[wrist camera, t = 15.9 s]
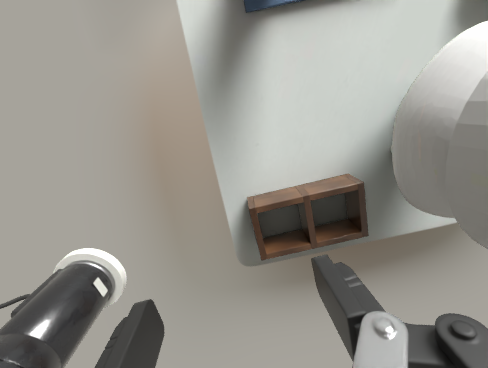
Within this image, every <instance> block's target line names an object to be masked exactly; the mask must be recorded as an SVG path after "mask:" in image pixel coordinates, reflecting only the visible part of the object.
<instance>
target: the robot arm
mask: <svg viewBox="0 0 488 368" xmlns="http://www.w3.org/2000/svg"><path fill="white" fill-rule="evenodd" d="M311 260H312V266H313V271H314V276H315V282H316V286H317V289H318V292H319V295H320V297H321V299H322V301H323V303H324V305H325V307H326V309H327V311H328V313H329V315H330V317H331V319H332V321H333V323H334V325H335V327H336V329H337V331H338V333H339V335H340V337H341V339H342V341H343V343H344V345H345V347H346V349H347V351H348V353H349V355H350V357H351V359H352V361H353V367H352V368H488V329H487V328H486V327H485V326H484V325H482V324H481V323H480V322H478V321H476V320H474V319H472V318H470V317H467V316H464V315H460V314H451V313H449V314H444V315H441V316H439V317H438V318H437V319H436V322H435V326H433V325H413V324H407V323H404V322H402V321H401V320H400V319H399V318H398V317H396V316H394V315H392V314H390V313H387V312H386V311H385V310H384V309H383V308H382V307H381V305H380V304H379V303H378V302H377V300H376V299H375V298H374V296H373V295H372V294H371V293H370V291H369V290H368V289H367V288H366V287H365V285H364V284H363V283H362V281H361V280H360V279H359V278H358V277H357V275H356V274H355V273H354V271H353V270H352V269H351V268H350V267H348V266H347V265H345V264H343V263H341V262H340V263H336V264H333V262H332V261H331V260H330V258H329V257H328V255H323V256H318V257H314V258H312V259H311ZM114 291H115V279H114V277H113V275H112V274H111V272H110V271H109V270H108V269H107V268H106V267H104V266H103V265H101V264H99V263H97V262H93V261H89V260H79V261H75V262H72V263H70V264H68V265H67V266H66V267H65V268H64V269H58V270H57V271H56V272H55V273H54V274H53V275H52V276H50V277H49V278H48V279H47V280H46V281H45V282H44V283H43V284H42V285H41V286H40V287H38V288H37V289H36V290H35V291H34V292H33V293H32V294H27V295H24V296H20V297H18V298H15V299H13V300H11V301H9V302H6V303H4V304H1V305H0V309H1V308H4V307H7V306H9V305H11V304H14V303H16V302H18V301H21V300H24V299H25V300H24V301H23V302H22V303H21V304H20V305H19V306H18V307H17V308H16V309H14V311H12V313H11V318H12V319H11V320H10V321H9V322H7V323H6V324H5V325H4V326H3V327H2V328H1V329H0V368H64V367H65V366H66V364H67V363H68V361H69V360H70V358H71V356H72V355H73V354H74V352H75V350H76V349H77V348H78V346H79V345H80V343H81V341H82V340H83V338H84V337H85V335H86V334H87V332H88V331H89V329H90V328H91V326H92V325H93V323H94V322H95V320H96V319H97V317H98V315H99V314H100V312H101V311H102V309H103V308H104V306H105V305H106V303H107V302H108V301H109V300H110V298H111V297H112V295H113V293H114ZM163 337H164V325H163V322H162V319H161V317H160V315H159V313H158V310H157V309H156V306H155V304H154V302H153V301H152V300H151V299H150V300H146V301H142V302H138V303H135V304H134V305H133V307H132V309H131V311H130V313H129V315H128V317H125V318H124V319H123V320H122V321H121V322H120V323H119V324H118V326H117V327H116V328H115V330H114V332H113V334H112V336H111V337H110V341H108V343H107V345H106V347H105V350H104V351H103V353H102V355H101V357H100V359H99V360H98V362H97V364H96V366H95V368H155V366H156V362H157V359H158V355H159V352H160V348H161V345H162V341H163Z"/></svg>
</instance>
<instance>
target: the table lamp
mask: <svg viewBox="0 0 488 368" xmlns="http://www.w3.org/2000/svg"><path fill="white" fill-rule="evenodd" d="M390 152H391V153H392V159H393V170H394V175H395V179H396V182H397V185H398V187H399V189H400V191H401V193H402V195H403V196H404V198H405V199H406V200H407V201H408V202H409V203H410V204H411V205H412V206H414V207H415V208H417V209H419V210H422V211H424V212H427V213H430V214H433V215H436V216H441V217H449V218H455V219H456V221H457V222H458V224H459V225H460V227H461V228H462V229H463V230H464V232H465V233H466V234H467V235H468V236H469V237H470V238H471V239H473V240H474V241H476V242H477V243H479V244H480V245H482V246H483V247H485V248H487V249H488V21H486V22H483V23H480V24H477V25H475V26H473V27H471V28H469V29H468V30H466V31H464V32H462V33H461V34H459V35H458V36H457V37H455V38H454V39H453V40H451V41H450V42H449V43H447V44H446V45H445V46H444V47H443V48H442V49H441V50H440V51H439V52H438V53H437V54H436V55H435V56H434V57H433V58H432V59H431V60H430V61H429V63H428V64H427V65H426V66H425V67H424V68H423V70H422V71H421V72H420V74H419V75H418V76H417V78H416V79H415V81H414V82H413V84H412V85H411V87H410V88H409V90H408V92H407V93H406V95H405V97H404V99H403V101H402V102H401V105H400V107H399V109H398V112H397V115H396V118H395V123H394V127H393V138H392V146H391V147H390Z"/></svg>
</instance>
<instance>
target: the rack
mask: <svg viewBox="0 0 488 368" xmlns="http://www.w3.org/2000/svg"><path fill="white" fill-rule="evenodd" d="M342 193H345V199H346V208H347V217H348V219H343V220H339V221H335V222H330V223H326V224H322V225H317V226H314V221H313V214H312V208H311V202H310V201H312V200H316V199H321V198H325V197H329V196H333V195H338V194H342ZM247 201H248V207H249V212H250V216H251V220H252V224H253V228H254V232H255V236H256V240H257V244H258V248H259V252H260V256H261V260H266V259H270V258H275V257H279V256H283V255H288V254H292V253H297V252H301V251H305V250H310V249H314V248H318V247H323V246H327V245H331V244H336V243H340V242H345V241H349V240H353V239H358V238H362V237H366V236H368V224H367V212H366V200H365V189H364V182H363V181H361V180H359V179H357V178H355V177H354V176H352V175H350V174H345V175H341V176H336V177H332V178H328V179H324V180H319V181H315V182H311V183H307V184H302V185H298V186H295V187H290V188H286V189H281V190H277V191H273V192H269V193H264V194H260V195H256V196H251V197H247ZM295 204H298V208H299V214H300V219H301V225H302V229H300V230H296V231H291V232H287V233H283V234H278V235H274V236H270V237H265V238H263V237H262V233H261V229H260V225H259V221H258V216H257V213H261V212H265V211H269V210H273V209H278V208H282V207H286V206H290V205H295Z"/></svg>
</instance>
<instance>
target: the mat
mask: <svg viewBox="0 0 488 368" xmlns="http://www.w3.org/2000/svg"><path fill="white" fill-rule="evenodd" d="M299 1H304V0H244V3H245V9H246V13H247V12H252V11H257V10H261V9H266V8H271V7H276V6H280V5H285V4H290V3H294V2H299Z"/></svg>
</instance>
